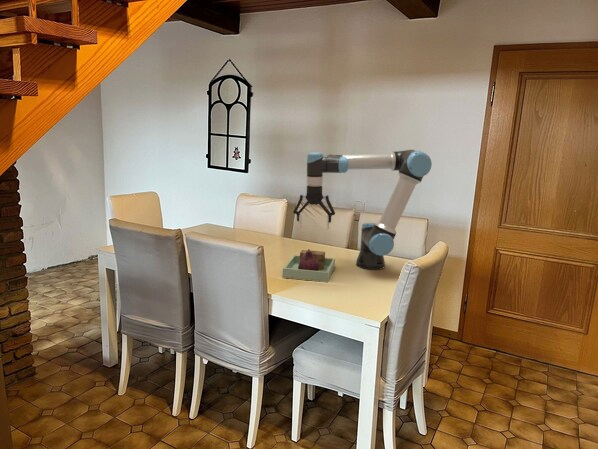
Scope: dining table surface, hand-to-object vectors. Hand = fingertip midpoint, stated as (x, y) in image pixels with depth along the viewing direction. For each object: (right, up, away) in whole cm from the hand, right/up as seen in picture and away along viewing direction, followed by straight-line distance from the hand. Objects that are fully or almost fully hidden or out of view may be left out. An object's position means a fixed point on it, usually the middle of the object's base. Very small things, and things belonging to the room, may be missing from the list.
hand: (313, 228), depth 225 cm
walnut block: (0, -20, +12) cm, 23 cm away
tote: (-2, -22, +5) cm, 23 cm away
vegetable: (-3, -23, +1) cm, 23 cm away
